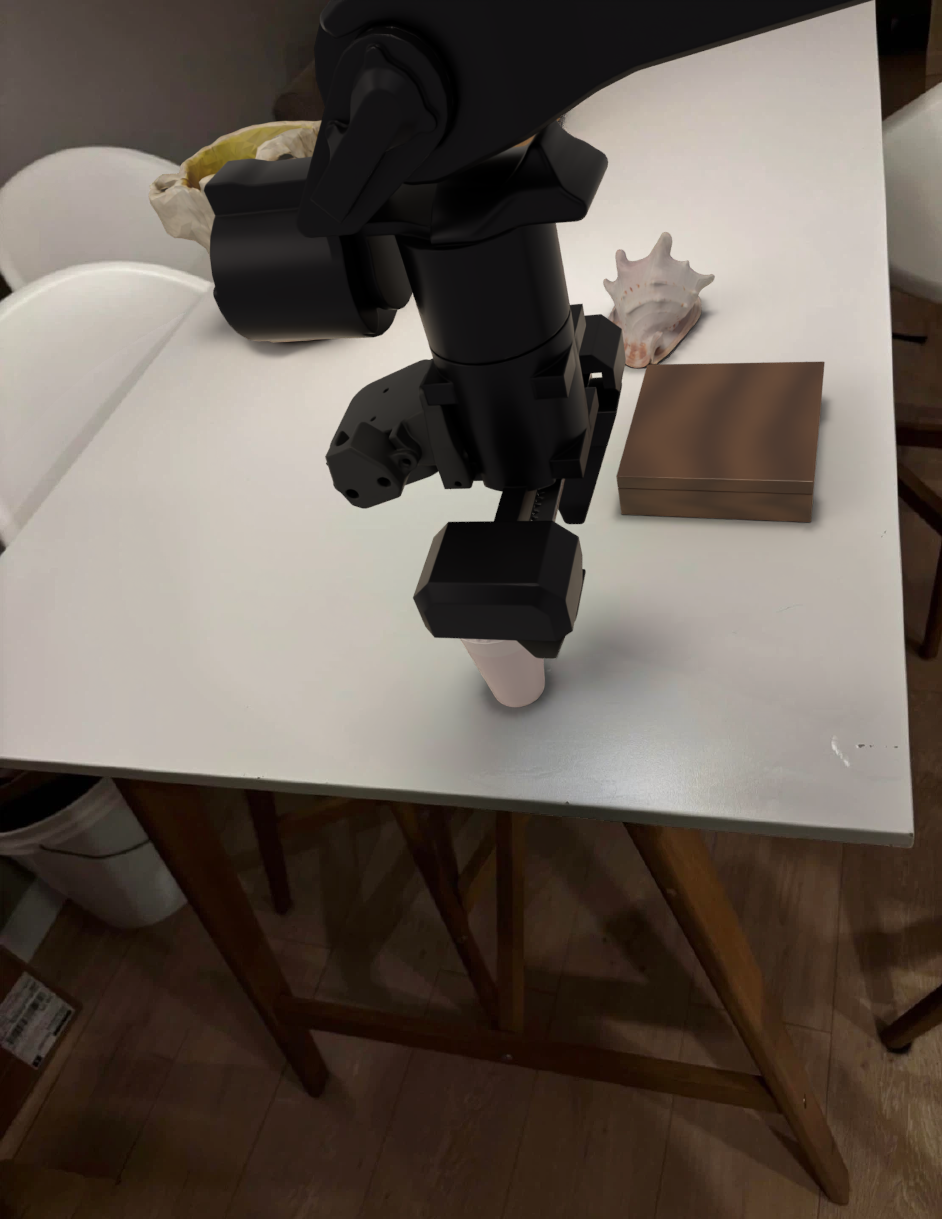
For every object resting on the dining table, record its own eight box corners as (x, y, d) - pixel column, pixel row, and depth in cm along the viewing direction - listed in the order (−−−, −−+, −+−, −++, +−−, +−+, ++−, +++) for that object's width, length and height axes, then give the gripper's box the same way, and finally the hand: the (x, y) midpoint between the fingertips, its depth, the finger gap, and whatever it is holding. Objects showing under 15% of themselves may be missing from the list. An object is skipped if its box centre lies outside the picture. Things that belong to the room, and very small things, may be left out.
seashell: (718, 290, 87) (717, 196, 80) (708, 365, 80) (705, 269, 73) (615, 297, 90) (605, 208, 83) (596, 370, 83) (583, 278, 76)
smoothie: (529, 739, 59) (484, 602, 48) (455, 700, 62) (398, 564, 52) (582, 669, 61) (550, 525, 51) (508, 635, 65) (463, 494, 54)
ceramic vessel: (215, 191, 110) (260, -10, 90) (385, 299, 114) (464, 130, 94) (113, 290, 97) (139, 81, 77) (309, 409, 101) (382, 239, 81)
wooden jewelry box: (821, 401, 73) (824, 360, 70) (810, 522, 65) (814, 481, 62) (650, 402, 78) (647, 364, 75) (621, 514, 70) (616, 476, 67)
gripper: (377, 224, 43) (457, 468, 54) (228, 490, 32) (368, 727, 43) (607, 194, 39) (640, 463, 51) (530, 482, 28) (595, 743, 40)
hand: (561, 585), depth 46 cm, fingers open, 9 cm apart
